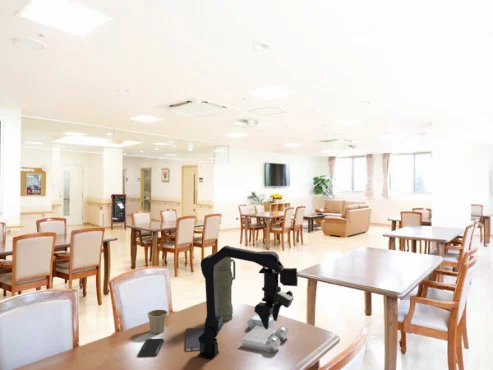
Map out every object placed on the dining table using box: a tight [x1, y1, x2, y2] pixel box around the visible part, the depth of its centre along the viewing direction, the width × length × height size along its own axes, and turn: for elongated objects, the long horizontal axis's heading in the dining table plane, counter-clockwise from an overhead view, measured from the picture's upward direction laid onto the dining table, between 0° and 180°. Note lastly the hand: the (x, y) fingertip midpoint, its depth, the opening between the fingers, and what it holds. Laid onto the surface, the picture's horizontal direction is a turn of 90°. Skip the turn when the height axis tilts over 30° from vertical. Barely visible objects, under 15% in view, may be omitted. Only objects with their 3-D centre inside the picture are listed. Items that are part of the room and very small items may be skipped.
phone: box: [137, 338, 165, 358], centre depth 144 cm, size 8×1×15 cm
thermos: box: [216, 257, 236, 323], centre depth 177 cm, size 9×12×35 cm
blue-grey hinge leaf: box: [247, 314, 275, 330], centre depth 164 cm, size 11×6×5 cm, turn 65°
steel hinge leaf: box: [240, 325, 290, 353], centre depth 149 cm, size 16×16×5 cm
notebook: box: [185, 326, 204, 352], centre depth 153 cm, size 13×2×21 cm
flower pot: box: [146, 309, 169, 334], centre depth 161 cm, size 9×9×9 cm
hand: (271, 324), depth 133 cm, fingers open, 9 cm apart
